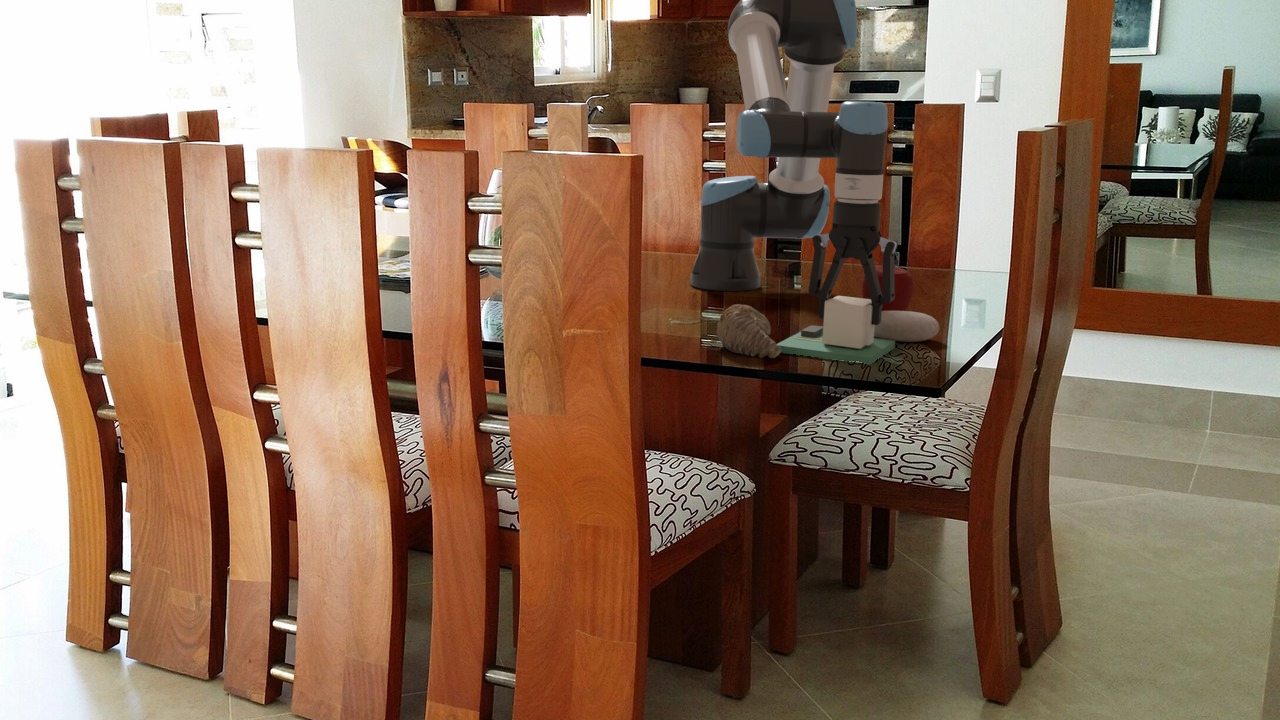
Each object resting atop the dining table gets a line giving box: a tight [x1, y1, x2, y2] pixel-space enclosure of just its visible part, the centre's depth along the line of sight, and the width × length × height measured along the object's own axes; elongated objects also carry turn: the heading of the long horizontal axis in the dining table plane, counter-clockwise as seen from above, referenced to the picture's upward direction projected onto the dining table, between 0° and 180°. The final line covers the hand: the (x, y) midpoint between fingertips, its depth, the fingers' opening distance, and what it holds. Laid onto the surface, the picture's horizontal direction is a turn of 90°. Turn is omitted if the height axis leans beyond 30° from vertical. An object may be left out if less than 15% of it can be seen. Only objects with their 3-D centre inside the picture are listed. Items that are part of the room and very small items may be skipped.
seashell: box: [716, 303, 781, 359], centre depth 183 cm, size 14×10×10 cm
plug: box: [823, 295, 872, 349], centre depth 182 cm, size 6×7×7 cm
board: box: [776, 324, 896, 366], centre depth 183 cm, size 16×14×4 cm
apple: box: [861, 265, 915, 311], centre depth 209 cm, size 10×10×10 cm
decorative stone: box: [874, 310, 940, 343], centre depth 192 cm, size 13×9×5 cm
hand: (847, 340), depth 183 cm, fingers closed on plug, 6 cm apart
